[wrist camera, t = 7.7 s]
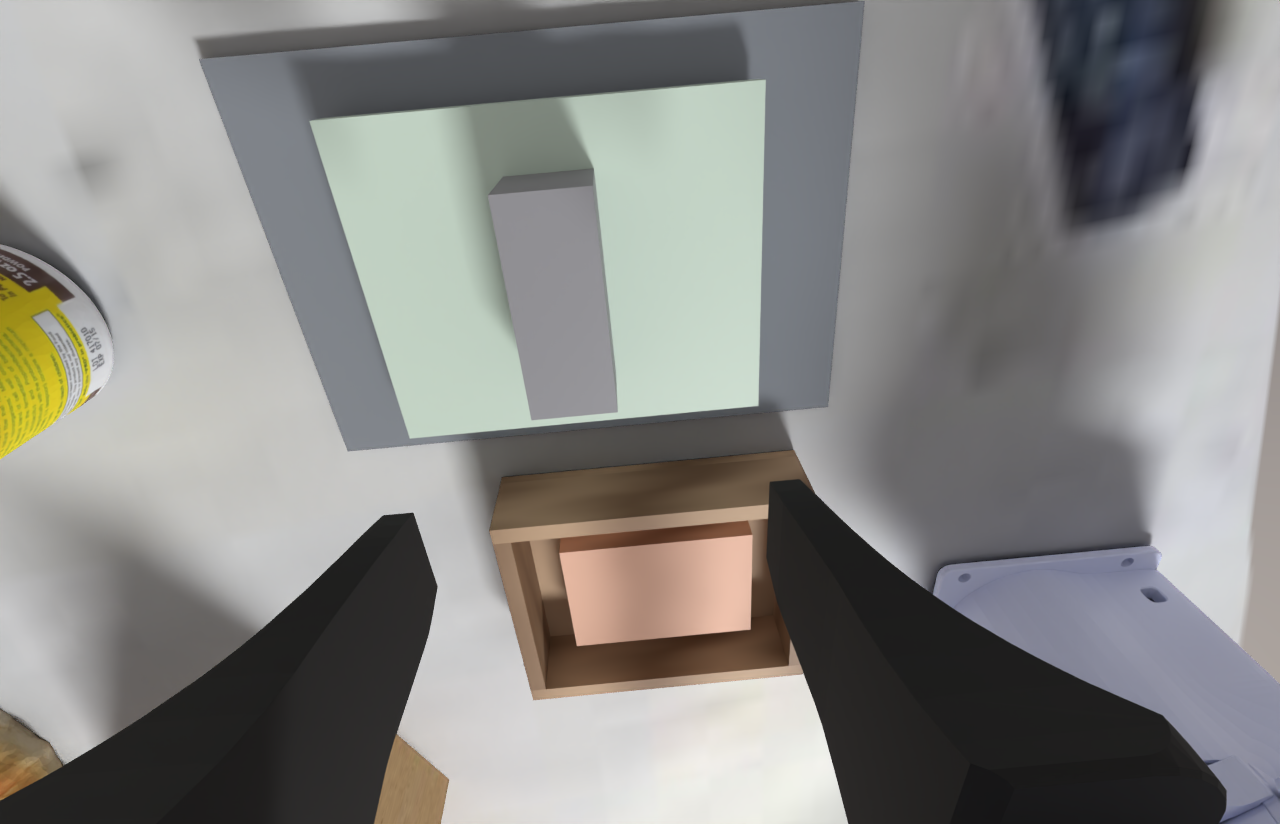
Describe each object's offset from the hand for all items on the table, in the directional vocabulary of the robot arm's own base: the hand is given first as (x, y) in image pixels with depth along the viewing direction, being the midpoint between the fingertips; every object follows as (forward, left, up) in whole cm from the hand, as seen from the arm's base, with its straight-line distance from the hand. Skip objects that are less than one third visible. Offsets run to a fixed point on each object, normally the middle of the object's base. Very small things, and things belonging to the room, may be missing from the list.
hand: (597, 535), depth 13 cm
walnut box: (-1, +9, -9) cm, 13 cm away
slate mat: (+1, -3, -9) cm, 10 cm away
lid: (+1, -3, -9) cm, 9 cm away
